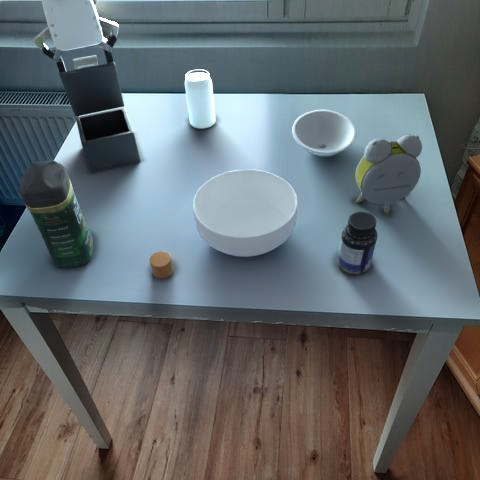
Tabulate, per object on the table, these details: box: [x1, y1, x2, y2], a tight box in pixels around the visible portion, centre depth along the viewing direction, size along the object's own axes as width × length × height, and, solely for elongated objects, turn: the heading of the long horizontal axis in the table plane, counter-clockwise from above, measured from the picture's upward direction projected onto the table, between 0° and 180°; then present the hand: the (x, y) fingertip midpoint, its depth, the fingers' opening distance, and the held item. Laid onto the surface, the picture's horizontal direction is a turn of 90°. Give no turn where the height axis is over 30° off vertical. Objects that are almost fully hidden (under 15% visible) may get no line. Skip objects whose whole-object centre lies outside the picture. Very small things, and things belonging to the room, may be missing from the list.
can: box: [184, 69, 216, 129], centre depth 115 cm, size 6×6×12 cm
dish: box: [291, 109, 357, 157], centre depth 108 cm, size 18×14×5 cm
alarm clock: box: [354, 134, 423, 216], centre depth 92 cm, size 12×7×15 cm, turn 99°
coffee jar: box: [19, 160, 94, 269], centre depth 86 cm, size 10×8×19 cm
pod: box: [148, 250, 175, 279], centre depth 88 cm, size 4×4×4 cm
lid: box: [58, 54, 125, 118], centre depth 104 cm, size 12×12×5 cm
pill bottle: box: [336, 210, 379, 276], centre depth 84 cm, size 6×6×11 cm
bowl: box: [192, 168, 299, 258], centre depth 91 cm, size 20×20×8 cm
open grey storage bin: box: [75, 106, 141, 173], centre depth 110 cm, size 12×12×8 cm
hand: (88, 73), depth 103 cm, fingers open, 9 cm apart
